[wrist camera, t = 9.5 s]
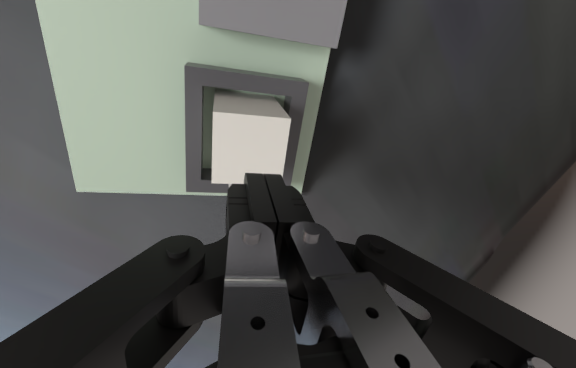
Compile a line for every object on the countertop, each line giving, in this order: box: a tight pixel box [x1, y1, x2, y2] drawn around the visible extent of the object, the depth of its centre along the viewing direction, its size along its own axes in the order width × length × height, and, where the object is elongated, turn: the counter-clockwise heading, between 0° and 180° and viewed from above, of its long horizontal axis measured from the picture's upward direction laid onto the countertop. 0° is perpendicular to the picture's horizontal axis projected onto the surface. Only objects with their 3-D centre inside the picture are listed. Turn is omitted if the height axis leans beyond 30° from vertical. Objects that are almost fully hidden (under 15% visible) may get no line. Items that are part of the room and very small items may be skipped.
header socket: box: [184, 62, 309, 193], centre depth 20 cm, size 8×8×2 cm
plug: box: [211, 90, 291, 187], centre depth 18 cm, size 5×4×6 cm
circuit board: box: [35, 0, 347, 196], centre depth 17 cm, size 20×17×4 cm
